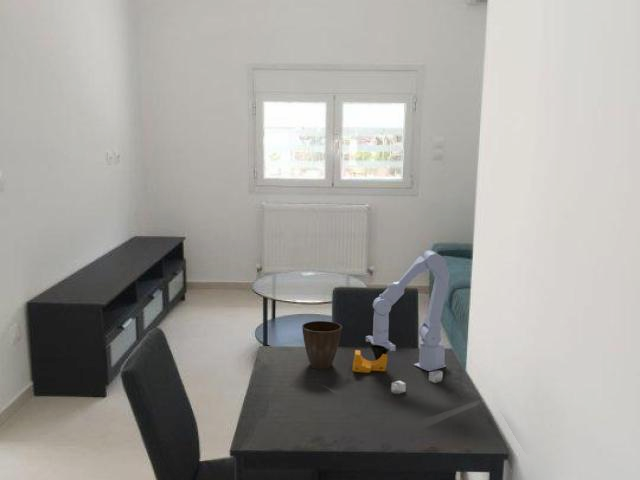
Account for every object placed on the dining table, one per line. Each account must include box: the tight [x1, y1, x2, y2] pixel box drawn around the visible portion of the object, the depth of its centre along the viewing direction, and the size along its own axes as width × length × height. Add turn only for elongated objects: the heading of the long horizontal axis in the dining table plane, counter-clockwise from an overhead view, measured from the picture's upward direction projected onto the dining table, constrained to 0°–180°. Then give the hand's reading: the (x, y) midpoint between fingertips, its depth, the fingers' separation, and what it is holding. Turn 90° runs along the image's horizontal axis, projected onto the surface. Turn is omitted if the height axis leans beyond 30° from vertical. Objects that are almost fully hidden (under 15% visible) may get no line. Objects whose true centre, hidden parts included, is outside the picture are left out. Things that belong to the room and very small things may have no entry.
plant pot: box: [301, 320, 343, 370], centre depth 225 cm, size 15×15×16 cm
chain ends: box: [390, 369, 443, 395], centre depth 209 cm, size 24×3×3 cm, turn 126°
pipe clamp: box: [352, 349, 389, 373], centre depth 221 cm, size 12×4×6 cm, turn 88°
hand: (379, 364), depth 225 cm, fingers closed
